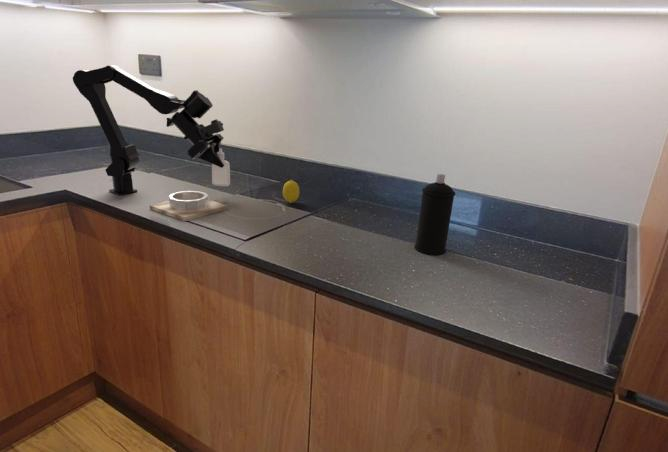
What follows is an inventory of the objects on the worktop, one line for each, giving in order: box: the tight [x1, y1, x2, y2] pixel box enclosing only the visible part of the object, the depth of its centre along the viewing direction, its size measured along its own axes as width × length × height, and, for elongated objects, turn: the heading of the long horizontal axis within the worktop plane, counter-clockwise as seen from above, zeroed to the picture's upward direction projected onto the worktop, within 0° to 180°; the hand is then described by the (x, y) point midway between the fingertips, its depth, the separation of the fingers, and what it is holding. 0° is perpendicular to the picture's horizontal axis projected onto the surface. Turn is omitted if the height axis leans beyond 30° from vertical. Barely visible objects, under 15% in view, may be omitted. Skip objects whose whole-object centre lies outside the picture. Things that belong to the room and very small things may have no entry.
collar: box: [168, 190, 209, 211], centre depth 129 cm, size 11×11×3 cm
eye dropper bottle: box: [211, 148, 231, 187], centre depth 138 cm, size 4×6×12 cm
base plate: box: [149, 199, 228, 222], centre depth 130 cm, size 16×16×1 cm
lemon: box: [282, 179, 300, 204], centre depth 141 cm, size 6×6×8 cm
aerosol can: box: [414, 173, 456, 256], centre depth 108 cm, size 8×8×20 cm
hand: (224, 165), depth 138 cm, fingers closed on eye dropper bottle, 3 cm apart
